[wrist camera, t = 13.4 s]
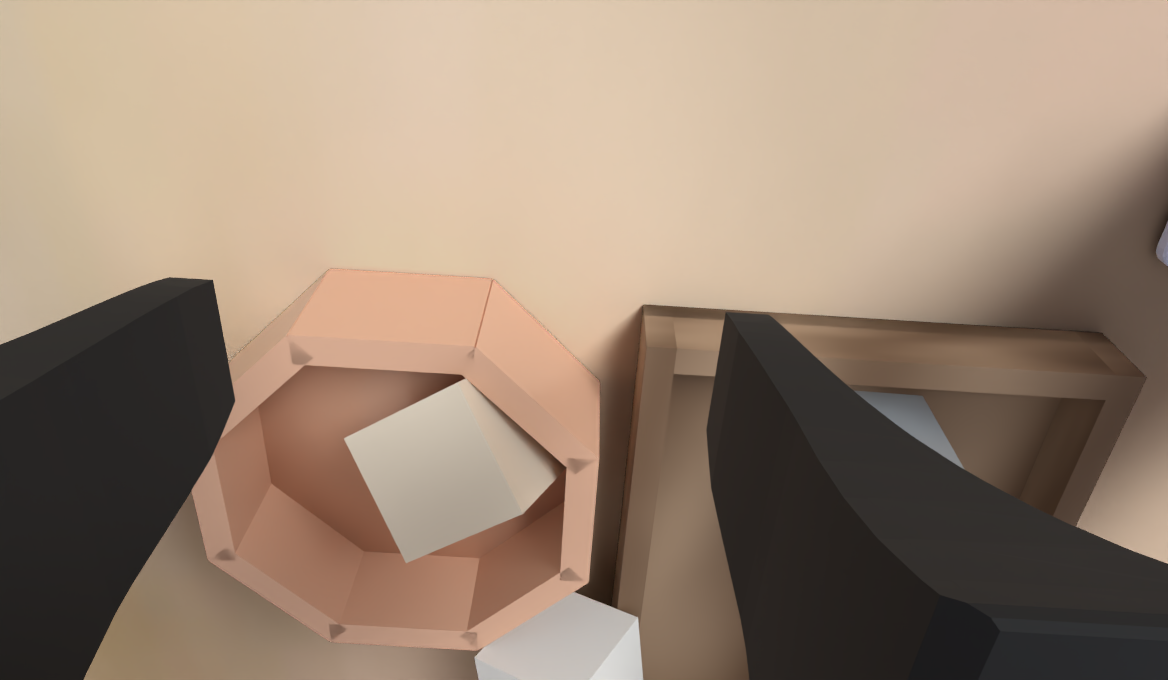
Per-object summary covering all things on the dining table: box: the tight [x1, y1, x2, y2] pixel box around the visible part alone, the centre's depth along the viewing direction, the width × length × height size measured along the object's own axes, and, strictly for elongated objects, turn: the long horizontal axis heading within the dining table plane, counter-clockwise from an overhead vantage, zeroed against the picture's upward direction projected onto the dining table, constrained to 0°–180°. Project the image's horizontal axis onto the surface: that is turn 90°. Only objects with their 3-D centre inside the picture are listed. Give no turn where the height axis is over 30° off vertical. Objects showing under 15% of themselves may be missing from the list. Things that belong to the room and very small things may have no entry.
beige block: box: [344, 379, 566, 563], centre depth 22 cm, size 3×4×3 cm
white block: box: [474, 592, 643, 680], centre depth 25 cm, size 3×4×3 cm
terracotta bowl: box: [191, 269, 600, 651], centre depth 24 cm, size 10×10×4 cm
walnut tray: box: [611, 305, 1147, 680], centre depth 26 cm, size 12×16×2 cm
